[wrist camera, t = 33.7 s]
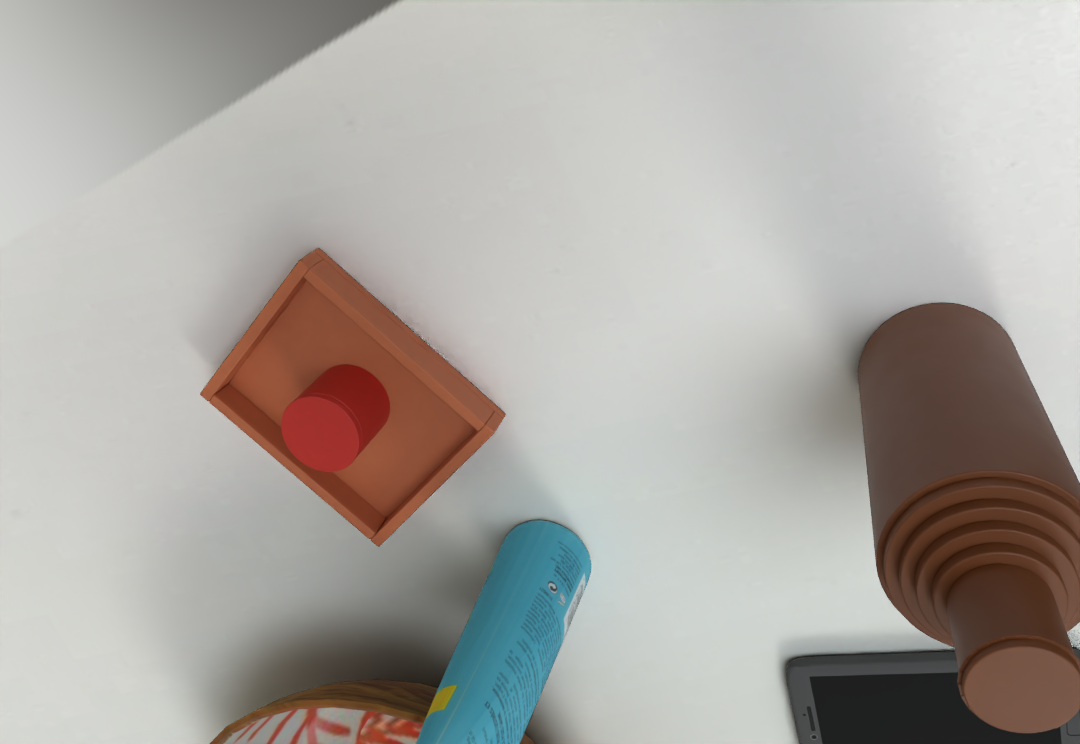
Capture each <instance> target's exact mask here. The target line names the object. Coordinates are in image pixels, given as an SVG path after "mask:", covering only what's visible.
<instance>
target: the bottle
mask: <svg viewBox="0 0 1080 744" xmlns="http://www.w3.org/2000/svg"><path fill="white" fill-rule="evenodd" d="M858 382H859V393H860V403H861V413H862V424H863V434H864V444H865V454H866V465H867V475H868V485H869V496H870V506H871V516H872V526H873V537H874V547H875V557H876V566H877V572H878V577H879V580H880V582H881V585H882V588H883V589H884V591H885V593H886V595H887V597H888V598H889V600H890V601H891V602H892V604H893V605H894V607H895V608H896V609H897V610H898V611H899V612H900V613H901V614H902V615H903V616H904V617H905V618H906V619H907V620H908V621H909V622H910V623H911V624H912V625H914V626H915V627H916V628H917V629H919V630H920V631H922V632H923V633H925V634H926V635H928V636H930V637H931V638H934V639H936V640H938V641H940V642H942V643H945V644H947V645H950V646H953V647H954V648H955V653H956V658H957V664H958V669H959V672H958V680H957V682H958V687H959V691H960V695H961V697H962V699H963V701H964V702H965V704H966V705H967V707H968V708H969V709H970V710H971V711H972V712H973V713H974V714H975V715H977V716H978V718H980V719H982V720H983V721H985V722H986V723H988V724H990V725H992V726H994V727H996V728H999V729H1002V730H1006V731H1010V732H1016V733H1037V732H1043V731H1048V730H1051V729H1054V728H1058V727H1060V726H1062V725H1064V724H1066V723H1067V722H1069V720H1070V719H1071V718H1073V717H1074V716H1075V715H1076V714H1077V712H1078V711H1079V710H1080V660H1079V658H1078V657H1077V655H1076V654H1075V653H1074V651H1073V648H1072V646H1071V643H1070V640H1069V637H1068V634H1067V632H1068V631H1069V630H1071V629H1072V628H1073V627H1074V626H1075V625H1077V624H1078V623H1079V622H1080V483H1079V481H1078V479H1077V477H1076V474H1075V472H1074V470H1073V468H1072V466H1071V464H1070V462H1069V460H1068V458H1067V456H1066V453H1065V451H1064V449H1063V447H1062V445H1061V443H1060V441H1059V439H1058V437H1057V435H1056V432H1055V430H1054V428H1053V426H1052V424H1051V422H1050V420H1049V418H1048V416H1047V414H1046V411H1045V409H1044V407H1043V405H1042V403H1041V401H1040V399H1039V397H1038V395H1037V392H1036V390H1035V388H1034V386H1033V384H1032V382H1031V380H1030V378H1029V376H1028V374H1027V371H1026V369H1025V367H1024V365H1023V363H1022V361H1021V359H1020V357H1019V355H1018V353H1017V350H1016V348H1015V346H1014V344H1013V342H1012V340H1011V338H1010V337H1009V335H1008V334H1007V332H1006V331H1005V330H1004V329H1003V328H1002V327H1001V325H1000V324H998V323H997V322H996V321H995V320H994V319H993V318H991V317H989V316H988V315H986V314H985V313H983V312H981V311H978V310H976V309H974V308H971V307H968V306H964V305H959V304H954V303H931V304H925V305H920V306H916V307H913V308H910V309H907V310H905V311H902V312H900V313H898V314H897V315H895V316H893V317H891V318H890V319H889V320H887V321H886V322H885V323H883V324H882V325H881V326H880V327H879V328H878V329H877V330H876V331H875V332H874V333H873V335H872V336H871V337H870V339H869V340H868V342H867V343H866V345H865V347H864V349H863V352H862V354H861V358H860V361H859V367H858Z"/></svg>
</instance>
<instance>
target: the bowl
mask: <svg viewBox="0 0 1080 744" xmlns="http://www.w3.org/2000/svg"><path fill="white" fill-rule="evenodd" d="M437 690H438V688H436V687H432V686H429V685H425V684H420V683H411V682H401V681H392V680H379V679H375V680H360V681H345V682H339V683H333V684H327V685H323V686H320V687H316V688H312V689H309V690H305V691H301V692H298V693H295V694H292V695H289V696H287V697H284V698H282V699H279V700H276V701H274V702H272V703H270V704H268V705H266V706H264V707H262V708H260V709H258V710H256V711H254V712H252V713H250V714H248V715H247V716H245V717H243V718H241V719H239V720H238V721H236V722H234V723H232V724H231V725H229V726H227V727H226V728H225V729H224V730H223V731H222V732H221V733H220V734H219V735H218V736H217V737H216V738H215V739H214V740H213V741H212V742H211V743H210V744H416V742H417V740H418V737H419V734H420V732H421V729H422V726H423V724H424V721H425V719H426V716H427V714H428V711H429V709H430V706H431V704H432V702H433V699H434V697H435V695H436V692H437ZM520 744H535V743H534V742H533V741H532V740H531V739H530V738H529V737H527V736H526V735H525V734H523V737H522V739H521V741H520Z"/></svg>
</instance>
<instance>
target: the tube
mask: <svg viewBox="0 0 1080 744" xmlns="http://www.w3.org/2000/svg"><path fill="white" fill-rule="evenodd" d="M590 573H591V560H590V556H589V553H588V551H587V549H586V547H585V545H584V544H583V542H582V541H581V540H580V538H579V537H578V536H577V535H575V534H574V533H573V532H572V531H570V530H568V529H567V528H565V527H563V526H561V525H558V524H556V523H553V522H550V521H541V520H537V521H529V522H526V523H522V524H520V525H518V526H516V527H515V528H513V529H512V531H511V532H509V533H508V535H507V536H506V538H505V540H504V542H503V544H502V546H501V548H500V550H499V553H498V555H497V557H496V559H495V561H494V564H493V566H492V568H491V570H490V572H489V575H488V577H487V579H486V581H485V584H484V586H483V588H482V590H481V593H480V595H479V597H478V600H477V602H476V604H475V606H474V608H473V611H472V613H471V615H470V617H469V620H468V622H467V624H466V626H465V629H464V631H463V633H462V635H461V638H460V640H459V642H458V644H457V647H456V649H455V651H454V653H453V656H452V658H451V660H450V662H449V665H448V667H447V669H446V672H445V674H444V676H443V678H442V681H441V683H440V685H439V688H438V690H437V692H436V695H435V697H434V699H433V702H432V704H431V706H430V709H429V711H428V714H427V716H426V719H425V721H424V724H423V726H422V729H421V732H420V734H419V737H418V740H417V742H416V744H520V741H521V739H522V737H523V734H524V732H525V730H526V727H527V725H528V723H529V720H530V718H531V716H532V713H533V711H534V709H535V706H536V704H537V702H538V699H539V697H540V695H541V692H542V690H543V688H544V685H545V683H546V680H547V678H548V676H549V673H550V671H551V669H552V666H553V664H554V661H555V659H556V657H557V654H558V652H559V650H560V647H561V645H562V642H563V640H564V638H565V635H566V633H567V631H568V628H569V626H570V624H571V621H572V619H573V616H574V614H575V611H576V609H577V607H578V604H579V602H580V599H581V597H582V594H583V592H584V590H585V587H586V585H587V582H588V579H589V576H590Z"/></svg>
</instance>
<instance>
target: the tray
mask: <svg viewBox="0 0 1080 744" xmlns="http://www.w3.org/2000/svg"><path fill="white" fill-rule="evenodd" d="M343 364H348V365H354V366H358V367H361V368H363V369H365V370H367V371H369V372H370V373H371V374H373V375H374V376H375V377H376V378H377V379H378V380H379V381H380V382H381V384H382V385H383V387H384V388H385V390H386V392H387V395H388V398H389V402H390V413H389V417H388V420H387V422H386V424H385V425H384V426H383V427H382V429H381V430H380V431H379V432H378V433H377V434H376V436H375V437H374V438H373V439H372V440H371V441H370V443H369V444H368V445H367V446H366V447H365V448H364V450H363V451H362V452H361V453H360V454H359V455H358V457H357V458H356V459H355V460H354V461H353V462H352V463H351V464H350V465H349V466H348V467H346V468H344V469H342V470H339V471H334V472H325V471H319V470H316V469H313V468H311V467H309V466H307V465H305V464H304V463H302V462H301V461H300V460H298V459H297V458H296V457H295V456H294V455H293V454H292V452H291V451H290V450H289V448H288V447H287V445H286V443H285V441H284V438H283V435H282V430H281V420H282V416H283V413H284V411H285V409H286V408H287V406H288V405H289V404H290V403H291V402H292V401H294V400H295V399H296V398H297V397H298V396H299V395H300V394H301V393H302V392H303V391H304V390H306V389H307V388H308V387H309V386H310V385H311V384H312V383H313V382H314V381H315V380H316V379H318V378H319V377H320V376H321V375H322V374H323V373H324V372H325V371H326V370H328V369H329V368H331V367H334V366H337V365H343ZM200 395H201V396H203V397H204V398H205V399H206V400H207V401H209V402H210V403H211V404H212V405H213V406H214V407H216V408H217V409H218V410H219V411H220V412H221V413H223V414H224V415H225V416H226V417H227V418H228V419H230V420H231V421H232V422H233V423H234V424H235V425H237V426H238V427H239V428H240V429H241V430H242V431H244V432H245V433H246V434H247V435H248V436H249V437H251V438H252V439H253V440H254V441H255V442H256V443H258V444H259V445H260V446H261V447H262V448H263V449H265V450H266V451H267V452H268V453H269V454H270V455H272V456H273V457H274V458H275V459H276V460H277V461H279V462H280V463H281V464H282V465H283V466H285V467H286V468H287V469H288V470H289V471H290V472H292V473H293V474H294V475H295V476H296V477H297V478H299V479H300V480H301V481H302V482H303V483H304V484H306V485H307V486H308V487H309V488H310V489H311V490H313V491H314V492H315V493H316V494H317V495H318V496H320V497H321V498H322V499H323V500H324V501H325V502H327V503H328V504H329V505H330V506H331V507H332V508H334V509H335V510H336V511H337V512H338V513H339V514H341V515H342V516H343V517H344V518H345V519H346V520H348V521H349V522H350V523H351V524H352V525H353V526H355V527H356V528H357V529H358V530H359V531H360V532H362V533H363V534H364V535H365V536H366V537H367V538H369V539H371V541H372V542H373V543H374V544H376V545H377V546H378V547H379V546H380V545H381V544H382V543H383V542H384V541H385V540H386V539H387V538H388V537H389V536H390V535H391V534H393V533H394V532H395V531H396V530H397V529H398V528H399V527H400V526H401V525H402V524H403V523H404V522H405V521H406V520H407V519H408V518H409V517H410V516H411V515H412V514H413V513H414V512H415V511H416V510H417V509H418V508H419V507H420V506H421V505H422V504H423V503H424V502H425V501H426V500H427V499H428V498H429V497H430V496H431V495H432V494H433V493H434V492H435V491H436V490H437V489H438V488H439V487H440V486H441V485H442V484H443V483H444V482H445V481H446V480H447V479H448V478H449V477H450V476H451V475H452V474H453V473H454V472H455V471H456V470H457V469H458V468H459V467H460V466H461V465H462V464H463V463H464V462H465V461H467V460H468V459H469V458H470V457H471V456H472V455H473V454H474V453H475V452H476V451H477V450H478V449H479V448H480V447H481V446H482V445H483V444H484V443H485V442H486V441H487V440H488V439H489V438H490V437H491V436H492V435H493V434H494V433H495V431H496V430H497V428H498V426H499V425H500V423H501V422H502V420H503V419H504V417H505V415H506V414H505V413H504V412H503V411H502V410H501V409H499V408H498V407H497V406H496V405H495V404H494V403H493V402H492V401H490V400H489V399H488V398H487V397H486V396H485V395H484V394H483V393H481V392H480V391H479V390H478V389H477V388H476V387H475V386H474V385H472V384H471V383H470V382H469V381H468V380H467V379H466V378H465V377H463V376H462V375H461V374H460V373H459V372H458V371H457V370H456V369H454V368H453V367H452V366H451V365H450V364H449V363H448V362H447V361H445V360H444V359H443V358H442V357H441V356H440V355H439V354H438V353H437V352H435V351H434V350H433V349H432V348H431V347H430V346H429V345H428V344H426V343H425V342H424V341H423V340H422V339H421V338H420V337H419V336H417V335H416V334H415V333H414V332H413V331H412V330H411V329H410V328H408V327H407V326H406V325H405V324H404V323H403V322H402V321H401V320H399V319H398V318H397V317H396V316H395V315H394V314H393V313H392V312H390V311H389V310H388V309H387V308H386V307H385V306H384V305H383V304H381V303H380V302H379V301H378V300H377V299H376V298H375V297H374V296H372V295H371V294H370V293H369V292H368V291H367V290H366V289H365V288H363V287H362V286H361V285H360V284H359V283H358V282H357V281H356V280H354V279H353V278H352V277H351V276H350V275H349V274H348V273H347V272H345V271H344V270H343V269H342V268H341V267H340V266H339V265H338V264H336V263H335V262H334V261H333V260H332V259H331V258H330V257H329V256H327V255H326V254H325V253H324V252H323V251H322V250H321V249H320V248H318V249H316V250H315V251H313V252H312V253H310V254H308V255H307V256H305V257H304V258H302V259H301V260H299V262H298V263H297V264H296V266H295V267H294V268H293V270H292V271H291V272H290V274H289V275H288V276H287V278H286V279H285V280H284V282H283V283H282V284H281V286H280V287H279V288H278V290H277V291H276V292H275V294H274V295H273V296H272V298H271V299H270V300H269V302H268V303H267V305H266V306H265V307H264V309H263V310H262V311H261V313H260V314H259V315H258V317H257V318H256V319H255V321H254V322H253V323H252V325H251V326H250V327H249V329H248V330H247V331H246V333H245V334H244V335H243V337H242V338H241V339H240V341H239V342H238V343H237V345H236V346H235V347H234V349H233V350H232V351H231V353H230V354H229V355H228V357H227V358H226V359H225V361H224V362H223V364H222V365H221V366H220V368H219V369H218V370H217V372H216V373H215V374H214V376H213V377H212V378H211V380H210V381H209V382H208V384H207V385H206V386H205V388H204V389H203V390H202V392H201V393H200Z"/></svg>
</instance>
